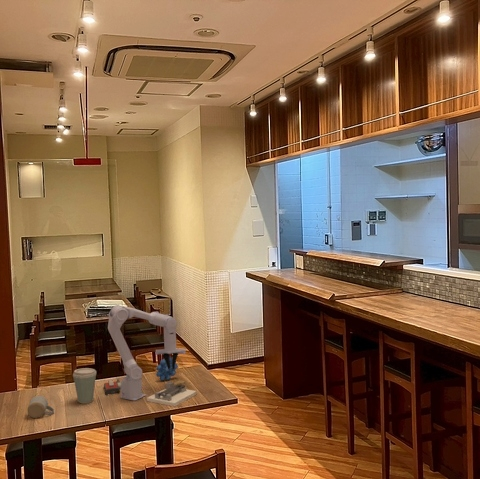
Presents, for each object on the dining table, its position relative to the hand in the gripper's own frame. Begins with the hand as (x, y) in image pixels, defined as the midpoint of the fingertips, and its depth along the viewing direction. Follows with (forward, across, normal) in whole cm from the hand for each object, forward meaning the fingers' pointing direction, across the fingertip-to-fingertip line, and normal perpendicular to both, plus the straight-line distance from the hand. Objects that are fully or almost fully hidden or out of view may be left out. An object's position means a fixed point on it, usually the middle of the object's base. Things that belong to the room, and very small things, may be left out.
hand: (171, 368), depth 251 cm
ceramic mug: (+11, -53, -29) cm, 61 cm away
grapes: (+11, -5, +15) cm, 19 cm away
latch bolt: (+6, +5, -6) cm, 10 cm away
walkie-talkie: (+11, -30, +4) cm, 33 cm away
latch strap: (+8, +2, -11) cm, 14 cm away
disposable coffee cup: (+11, -38, -14) cm, 42 cm away
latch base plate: (+10, +2, -11) cm, 15 cm away
